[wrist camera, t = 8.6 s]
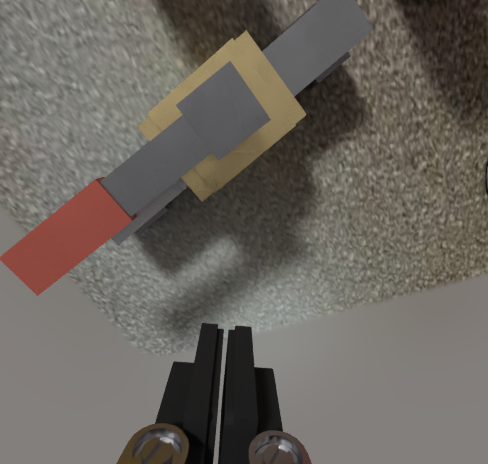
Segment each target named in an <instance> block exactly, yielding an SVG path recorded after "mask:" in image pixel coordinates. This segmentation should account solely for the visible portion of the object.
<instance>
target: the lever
mask: <svg viewBox="0 0 488 464" xmlns="http://www.w3.org/2000/svg"><path fill="white" fill-rule="evenodd" d="M176 106H177V108H178V109H179V110H180V112H181V113H182V114H183V115H182V116H180V117H179V118H178V119H177V120H175V121H174V122H173V123H172V124H171V125H169V126H168V127H167V128H166V129H164V130H163V131H162V132H161V133H159V134H158V135H157V136H156V137H155V138H153V139H152V140H151V141H150V142H148V143H147V144H146V145H145V146H143V147H142V148H141V149H140V150H139V151H137V152H136V153H135V154H134V155H132V156H131V157H130V158H129V159H127V160H126V161H125V162H124V163H123V164H121V165H120V166H119V167H118V168H116V169H115V170H114V171H113V172H111V173H110V174H109V175H108V176H107V177H102V178H98V179H95V180H94V181H93V182H91V183H90V184H89V185H88V186H87V187H85V188H84V189H83V190H82V191H80V192H79V193H78V194H77V195H75V196H74V197H73V198H72V199H71V200H69V201H68V202H67V203H66V204H64V205H63V206H62V207H61V208H60V209H58V210H57V211H56V212H55V213H53V214H52V215H51V216H50V217H48V218H47V219H46V220H45V221H44V222H42V223H41V224H40V225H39V226H37V227H36V228H35V229H34V230H33V231H31V232H30V233H29V234H28V235H26V236H25V237H24V238H23V239H22V240H20V241H19V242H18V243H17V244H15V245H14V246H13V247H12V248H10V249H9V250H8V251H7V252H6V253H4V254H3V255H2V256H1V257H0V260H1V261H2V262H3V263H4V264H5V265H6V266H7V267H8V268H9V269H10V270H11V271H12V272H13V273H14V274H15V275H16V276H18V277H19V278H20V279H21V280H22V281H23V282H24V283H25V284H26V285H27V286H28V287H29V288H30V289H31V290H32V291H33V292H34V293H35V294H36V295H37V296H38V295H39V294H40V293H42V292H43V291H44V290H46V289H47V288H48V287H49V286H51V285H52V284H53V283H54V282H56V281H57V280H58V279H59V278H61V277H62V276H63V275H65V274H66V273H67V272H68V271H70V270H71V269H72V268H73V267H75V266H76V265H77V264H78V263H80V262H81V261H82V260H84V259H85V258H86V257H87V256H89V255H90V254H91V253H92V252H94V251H95V250H96V249H97V248H99V247H100V246H101V245H103V244H104V243H105V242H106V241H108V240H109V239H110V238H111V237H113V236H114V235H115V234H117V233H118V232H119V231H120V230H122V229H123V228H124V227H125V226H127V225H128V224H129V223H130V222H132V221H133V220H134V219H135V218H137V217H138V215H137V214H136V212H138V211H139V210H140V209H142V208H143V207H144V206H145V205H147V204H148V203H149V202H150V201H152V200H153V199H154V198H155V197H157V196H158V195H159V194H161V193H162V192H163V191H164V190H166V189H167V188H168V187H169V186H171V185H172V184H173V183H174V182H176V181H177V180H178V179H179V178H181V177H182V176H183V175H185V174H186V173H187V172H188V171H190V170H191V169H192V168H193V167H195V166H196V165H197V164H198V163H200V162H201V161H202V160H204V159H205V158H206V157H207V156H209V155H210V154H211V153H213V155H214V156H215V157H216V159H217V160H218V161H219V160H221V159H222V158H223V157H224V156H226V155H227V154H228V153H229V152H231V151H232V150H233V149H235V148H236V147H237V146H238V145H240V144H241V143H242V142H243V141H245V140H246V139H247V138H249V137H250V136H251V135H252V134H254V133H255V132H256V131H257V130H259V129H260V128H261V127H263V126H264V125H265V124H266V123H268V122H269V121H270V120H271V119H270V117H269V116H268V114H267V113H266V112H265V110H264V109H263V107H262V106H261V104H260V103H259V101H258V100H257V99H256V97H255V96H254V94H253V93H252V91H251V90H250V88H249V87H248V86H247V84H246V83H245V81H244V80H243V78H242V77H241V75H240V74H239V73H238V71H237V70H236V68H235V67H234V65H233V64H232V63H231V61H229V62H228V63H227V64H225V65H224V66H223V67H222V68H220V69H219V70H218V71H217V72H216V73H214V74H213V75H212V76H211V77H209V78H208V79H207V80H206V81H205V82H203V83H202V84H201V85H200V86H198V87H197V88H196V89H195V90H194V91H192V92H191V93H190V94H189V95H187V96H186V97H185V98H184V99H183V100H181V101H180V102H179V103H178V104H176Z"/></svg>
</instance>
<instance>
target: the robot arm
mask: <svg viewBox="0 0 488 464" xmlns="http://www.w3.org/2000/svg"><path fill="white" fill-rule="evenodd" d="M487 188H488V168H487ZM223 333H224V329H218V324H207V323H202V326H201V331H200V336H199V341H198V346H197V351H196V356H195V361H194V363H187V362H173V365H172V368H171V372H170V375H169V378H168V382H167V385H166V388H165V392H164V395H163V399H162V402H161V405H160V409H159V412H158V415H157V419H156V422H155V424H152V425H149V426H147V427H144V428H142V429H141V430H139V431H138V432H137V433H135V434H134V436H133V437H132V438H131V439H130V441H129V442H128V444H127V445H126V447H125V449H124V451H123V453H122V454H121V456H120V458H119V460H118V462H117V464H213V457H214V446H215V435H216V424H217V412H218V399H219V386H220V373H221V360H222V359H221V358H222V346H223ZM218 464H312V463H311V460H310V458H309V455H308V453H307V451H306V449H305V448H304V446H303V445H302V444H301V443H300V441H298V439H296V438H295V437H293V436H292V435H290V434H288V433H285V432H283V429H282V422H281V416H280V410H279V403H278V398H277V391H276V384H275V378H274V373H273V369H271V368H258V367H254V357H253V343H252V330H251V327H246V326H235V330H229V333H228V343H227V354H226V364H225V375H224V385H223V397H222V409H221V425H220V443H219V459H218Z"/></svg>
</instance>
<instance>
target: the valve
mask: <svg viewBox="0 0 488 464" xmlns="http://www.w3.org/2000/svg"><path fill="white" fill-rule="evenodd" d="M372 30H373V28H372V27H371V25H370V23H369V22H368V20H367V19H366V17H365V15H364V14H363V12H362V10H361V9H360V7H359V6H358V4H357V2H356V1H355V0H320V1H319V2H318V3H317V4H316V3H315V4H314V5H313V6H312V7H311V8H309V9H308V10H307V11H306V12H305V13H304V14H303V15H301V16H300V17H299V18H298V19H297V20H296V21H295V22H293V23H292V24H291V25H290V26H289V27H288V28H287V29H285V30H284V31H283V32H282V34H281V35H280V36H279V37H278V38H277V39H276V40H275V41H274V42H272V43H271V44H270V45H269V46H268V47H267V48H266V49H264V50H263V51H261V50H260V49H259V47H258V46H257V44H256V43H255V42H254V40H253V39H252V37H251V36H250V35H249V33H248V32H247V30H246V31H245V32H244V33H243V34H242V35H240V36H239V37H238V38H237V39H236V40H234V39H233V38H232V39H230V40H229V41H228V42H227V43H226V44H225V45H224V46H223V47H222V48H220V49H219V50H218V51H217V52H216V53H215V54H214V55H213V56H211V57H210V58H209V59H208V60H207V61H206V62H205V63H204V64H202V65H201V66H200V67H199V68H198V69H197V70H196V71H195V72H193V73H192V74H191V75H190V76H189V77H188V78H187V79H186V80H184V81H183V82H182V83H181V84H180V85H179V86H178V87H177V88H176V89H174V90H173V91H172V92H171V93H170V94H169V95H168V96H167V97H165V98H164V99H163V100H162V101H161V102H160V103H159V104H158V105H156V106H155V107H154V108H153V109H152V110H151V111H150V112H149V113H147V114H148V115H149V117H148V118H147V119H146V120H145V121H144V122H143V123H141V124H140V125H139V126H138V128H139V130H140V131H141V132H142V133H143V134H144V135H145V137H146V138H147V139H148V140H149V141H151V140H152V139H153V138H155V137H156V136H157V135H158V134H159V133H161V132H162V131H163V130H164V129H166V128H167V127H168V126H169V125H171V124H172V123H173V122H174V121H175V120H177V119H178V118H179V117H180V116H182V115H183V114H182V113H181V112H180V110H179V109H178V108H177V106H176V104H178V103H179V102H180V101H181V100H183V99H184V98H185V97H186V96H187V95H189V94H190V93H191V92H192V91H194V90H195V89H196V88H197V87H198V86H200V85H201V84H202V83H203V82H205V81H206V80H207V79H208V78H209V77H211V76H212V75H213V74H214V73H216V72H217V71H218V70H219V69H220V68H222V67H223V66H224V65H225V64H227V63H228V62H229V61H231V63H232V64H233V65H234V67H235V68H236V70H237V71H238V73H239V74H240V75H241V77H242V78H243V80H244V81H245V83H246V84H247V86H248V87H249V88H250V90H251V91H252V93H253V94H254V96H255V97H256V99H257V100H258V101H259V103H260V104H261V106H262V107H263V109H264V110H265V112H266V113H267V114H268V116H269V117H270V119H271V120H270V121H269V122H268V123H266V124H265V125H264V126H263V127H261V128H260V129H259V130H257V131H256V132H255V133H254V134H252V135H251V136H250V137H249V138H247V139H246V140H245V141H243V142H242V143H241V144H240V145H238V146H237V147H236V148H235V149H233V150H232V151H231V152H229V153H228V154H227V155H226V156H224V157H223V158H222V159H221V160H219V161H218V160H217V159H216V157H215V156H214V155H213V153H211V154H210V155H209V156H207V157H206V158H205V159H204V160H202V161H201V162H200V163H198V164H197V165H196V166H195V167H193V168H192V169H191V170H190V171H188V172H187V173H186V174H185V175H183V176H182V177H181V178H179V179H178V180H177V181H176V182H174V183H173V184H172V185H171V186H169V187H168V188H167V189H166V190H164V191H163V192H162V193H161V194H159V195H158V196H157V197H155V198H154V199H153V200H152V201H150V202H149V203H148V204H147V205H145V206H144V207H143V208H142V209H140V210H139V211H138V212H136V214H137V215H138V217H137V218H135V219H134V220H133V221H132V222H130V223H129V224H128V225H127V226H125V227H124V228H123V229H122V230H120V231H119V232H118V233H117V234H115V235H114V236H113V237H111V239H112V240H113V241H114V242H115V243H116V244H117V245H118V246H119V245H120V244H121V243H122V242H123V241H124V240H126V239H127V238H128V237H129V236H130V235H131V234H133V233H134V232H135V231H136V230H137V231H138V232H139V233H140V234H141V233H142V232H143V231H144V230H145V229H147V228H148V227H149V226H150V225H151V224H153V223H154V222H155V221H156V220H157V219H158V218H160V217H161V216H162V215H163V214H164V213H166V212H167V211H168V210H169V209H170V207H171V206H172V205H171V204H170V203H169V202H170V201H172V200H173V199H174V198H175V197H176V196H178V195H179V194H180V193H181V192H182V191H183V190H185V189H186V188H187V187H188V186H189V187H190V188H191V190H192V191H193V192H194V193H195V194H196V195H197V197H198V198H199V199H200V200H201V201H202V202H203V201H204V200H205V199H206V198H208V197H209V196H210V195H211V194H212V193H216V192H217V191H218V190H219V189H221V188H222V187H223V186H224V185H225V184H227V183H228V182H229V181H230V180H231V179H233V178H234V177H235V176H236V175H237V174H239V173H240V172H241V171H242V170H243V169H245V168H246V167H247V166H248V165H249V164H250V163H252V162H253V161H254V160H255V159H256V158H258V157H259V156H260V155H261V154H262V153H264V152H265V151H266V150H267V149H268V148H270V147H271V146H272V145H273V144H274V143H276V142H277V141H278V140H279V139H280V138H282V137H283V136H284V135H285V134H286V133H288V132H289V131H290V130H291V129H292V128H294V127H295V126H296V123H297V122H298V121H300V120H301V119H302V118H303V117H304V116H306V115H307V114H306V113H305V111H304V110H303V109H302V107H301V106H300V104H299V103H298V102H297V100H296V99H295V98H294V96H296V95H297V94H298V93H299V92H300V91H301V90H303V89H304V88H305V87H306V86H307V85H308V86H309V87H310V88H312V87H314V86H315V85H317V84H318V83H319V82H321V81H322V80H323V79H324V78H325V77H327V76H328V75H329V74H330V73H331V72H332V71H334V70H335V69H336V68H337V67H338V66H340V65H341V64H342V63H343V62H344V61H346V60H347V59H348V58H349V57H350V55H349V53H348V52H347V51H349V50H350V49H351V48H352V47H353V46H355V45H356V44H357V43H358V42H359V41H360V40H362V39H363V38H364V37H365V36H366V35H368V34H369V33H370V32H371V31H372Z"/></svg>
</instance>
